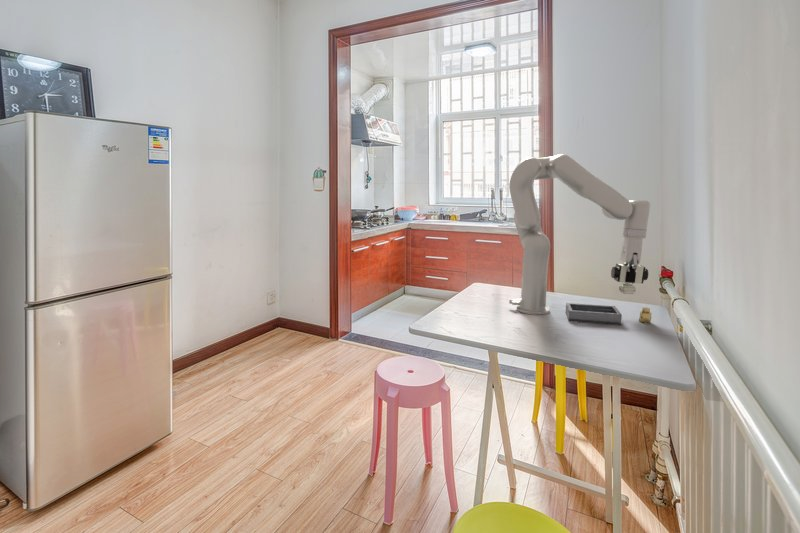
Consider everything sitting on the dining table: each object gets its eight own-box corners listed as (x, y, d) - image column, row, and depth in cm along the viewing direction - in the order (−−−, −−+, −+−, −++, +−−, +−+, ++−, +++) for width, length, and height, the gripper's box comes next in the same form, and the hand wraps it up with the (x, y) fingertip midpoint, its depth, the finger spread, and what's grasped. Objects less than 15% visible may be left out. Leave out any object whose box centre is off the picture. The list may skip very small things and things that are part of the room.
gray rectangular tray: (568, 321, 154) (569, 310, 153) (565, 311, 166) (565, 301, 166) (620, 325, 149) (621, 314, 148) (613, 314, 162) (614, 304, 161)
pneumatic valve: (645, 296, 157) (650, 264, 155) (612, 293, 159) (616, 262, 157) (640, 292, 162) (644, 262, 160) (607, 290, 164) (611, 260, 162)
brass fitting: (640, 323, 152) (642, 309, 151) (638, 320, 155) (639, 306, 154) (651, 324, 151) (653, 310, 150) (648, 321, 154) (650, 307, 153)
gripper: (618, 230, 166) (612, 275, 169) (628, 235, 149) (622, 284, 153) (639, 232, 164) (633, 277, 167) (652, 236, 147) (645, 286, 151)
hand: (628, 280), depth 160 cm, fingers closed on pneumatic valve, 5 cm apart
